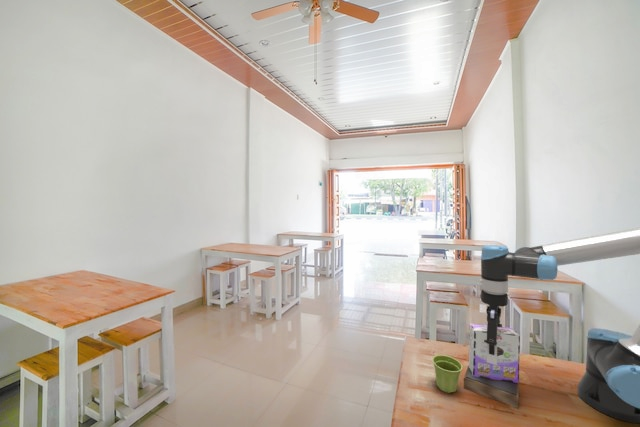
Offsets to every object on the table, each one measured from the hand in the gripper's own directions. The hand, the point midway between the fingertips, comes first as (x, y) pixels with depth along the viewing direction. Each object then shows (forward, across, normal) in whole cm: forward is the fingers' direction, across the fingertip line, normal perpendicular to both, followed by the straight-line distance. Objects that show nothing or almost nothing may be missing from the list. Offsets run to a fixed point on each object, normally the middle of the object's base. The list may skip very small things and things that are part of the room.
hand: (493, 353), depth 90 cm
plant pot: (+13, +8, -13) cm, 20 cm away
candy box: (+9, -2, 0) cm, 9 cm away
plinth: (+13, 0, -1) cm, 13 cm away
